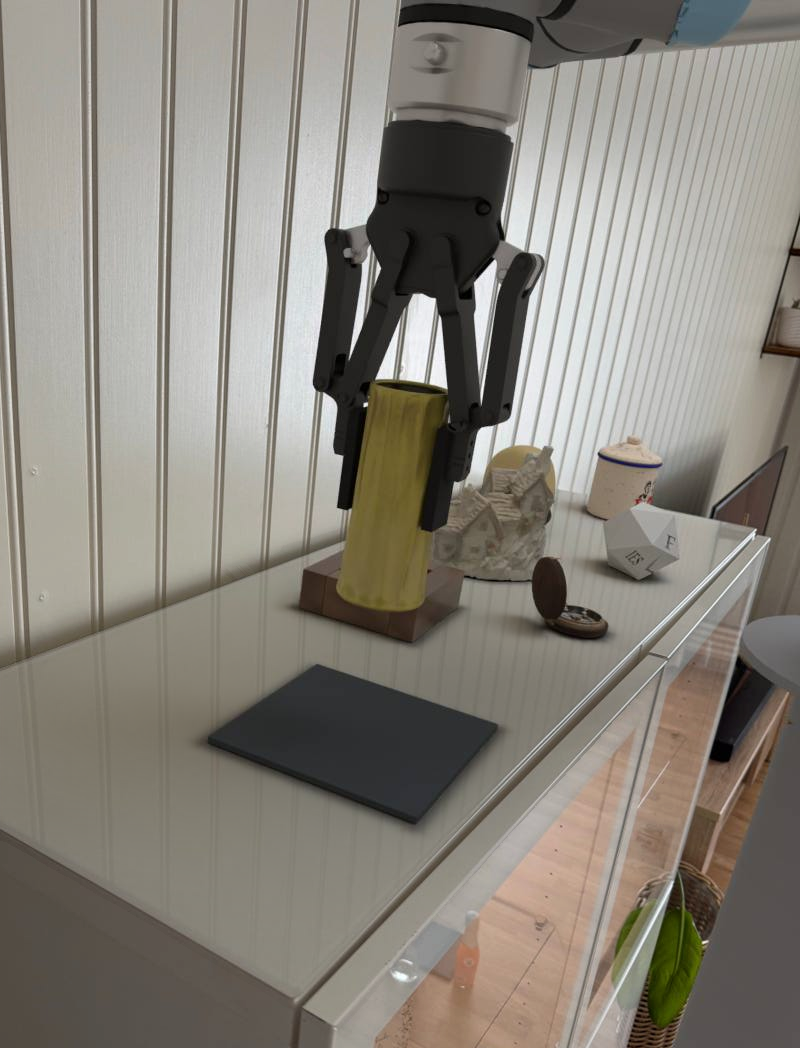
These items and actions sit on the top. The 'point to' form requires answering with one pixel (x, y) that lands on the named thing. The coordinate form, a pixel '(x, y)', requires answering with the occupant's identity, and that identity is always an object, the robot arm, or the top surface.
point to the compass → (562, 602)
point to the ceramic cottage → (498, 523)
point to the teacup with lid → (623, 478)
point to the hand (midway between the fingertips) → (391, 515)
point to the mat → (358, 740)
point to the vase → (392, 497)
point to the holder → (402, 625)
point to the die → (641, 540)
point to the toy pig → (519, 464)
